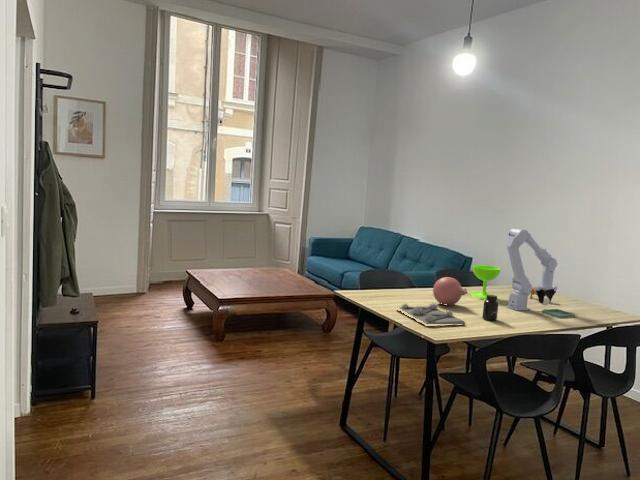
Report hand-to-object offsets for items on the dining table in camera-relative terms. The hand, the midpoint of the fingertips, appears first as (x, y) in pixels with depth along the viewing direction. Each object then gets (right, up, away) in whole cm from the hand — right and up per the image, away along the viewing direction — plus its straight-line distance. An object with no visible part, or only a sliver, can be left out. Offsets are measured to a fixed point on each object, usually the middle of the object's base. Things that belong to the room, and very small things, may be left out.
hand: (544, 302), depth 276 cm
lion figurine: (+6, -1, +23) cm, 24 cm away
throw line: (+1, -4, -4) cm, 6 cm away
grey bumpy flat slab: (-71, -4, -33) cm, 79 cm away
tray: (+2, -5, -12) cm, 13 cm away
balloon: (-54, -1, -6) cm, 54 cm away
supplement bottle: (-40, -5, -29) cm, 50 cm away
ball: (0, -1, 0) cm, 1 cm away
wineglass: (-27, 0, +21) cm, 34 cm away
